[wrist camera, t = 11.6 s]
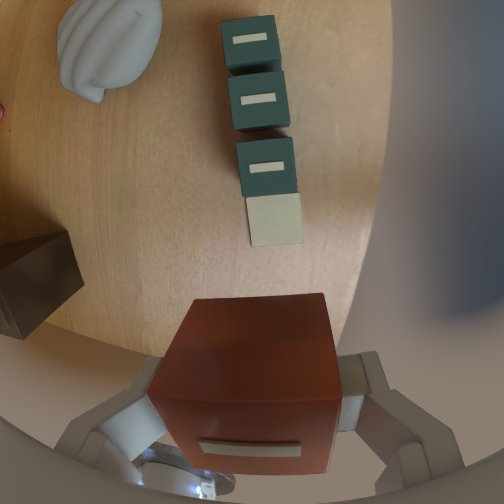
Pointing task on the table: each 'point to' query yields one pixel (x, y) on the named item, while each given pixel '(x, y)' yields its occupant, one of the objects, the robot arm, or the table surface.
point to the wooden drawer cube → (252, 385)
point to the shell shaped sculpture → (106, 44)
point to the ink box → (1, 112)
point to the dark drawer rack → (35, 281)
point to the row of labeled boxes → (262, 117)
